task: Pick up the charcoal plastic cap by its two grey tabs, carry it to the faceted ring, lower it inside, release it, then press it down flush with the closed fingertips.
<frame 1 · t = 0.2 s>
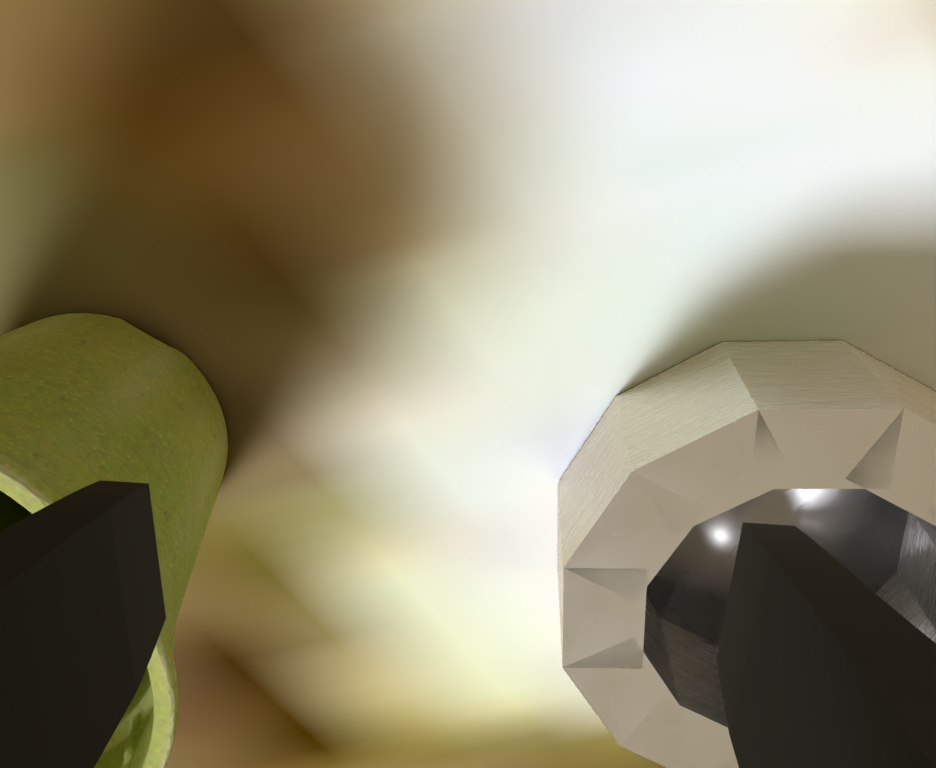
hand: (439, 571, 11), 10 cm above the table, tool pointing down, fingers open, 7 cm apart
plant pot: (115, 421, 22), on the table
faceted ring: (759, 528, 22), on the table
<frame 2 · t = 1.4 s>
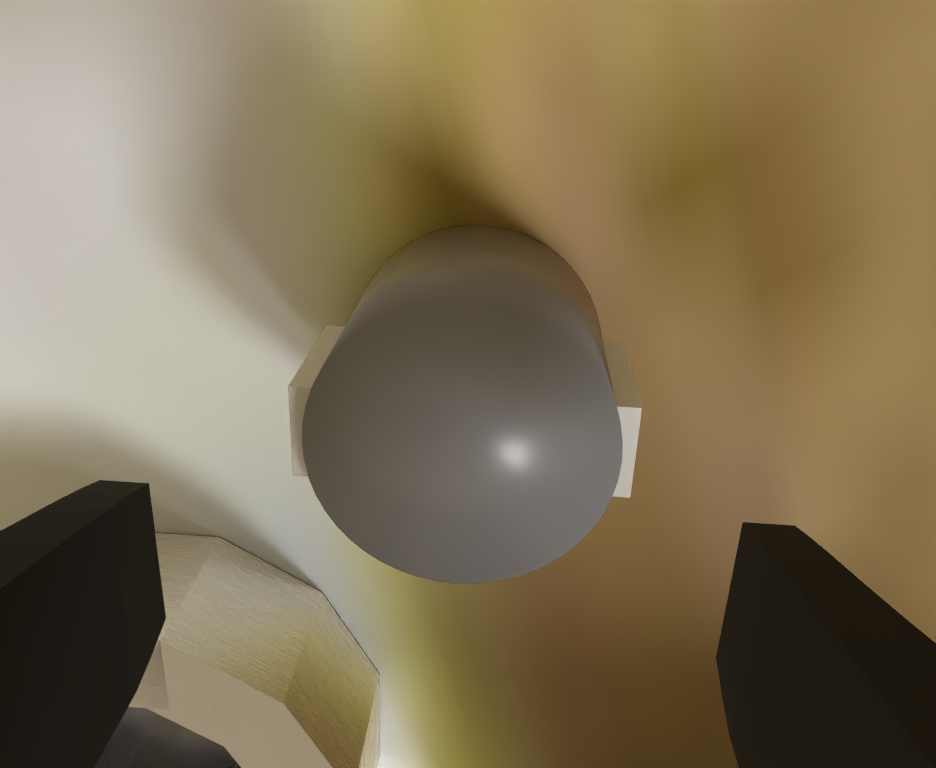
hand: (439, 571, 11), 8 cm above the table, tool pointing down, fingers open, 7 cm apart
cap: (476, 346, 18), on the table
faceted ring: (182, 700, 22), on the table
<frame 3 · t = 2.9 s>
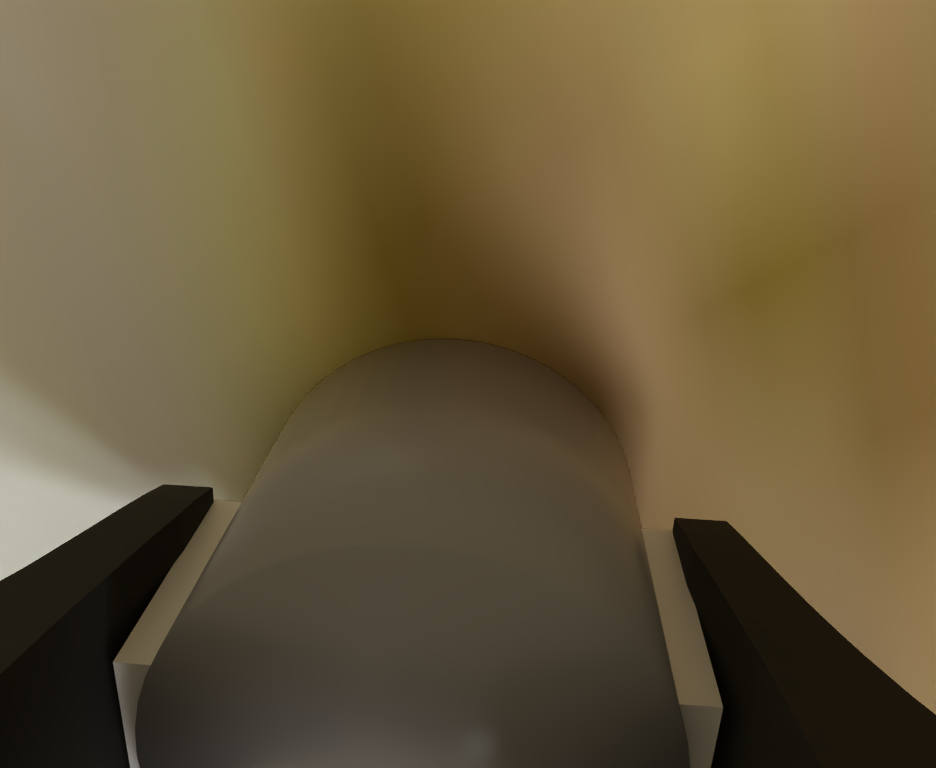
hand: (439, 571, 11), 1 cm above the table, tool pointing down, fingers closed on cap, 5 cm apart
cap: (449, 509, 12), on the table, touching gripper
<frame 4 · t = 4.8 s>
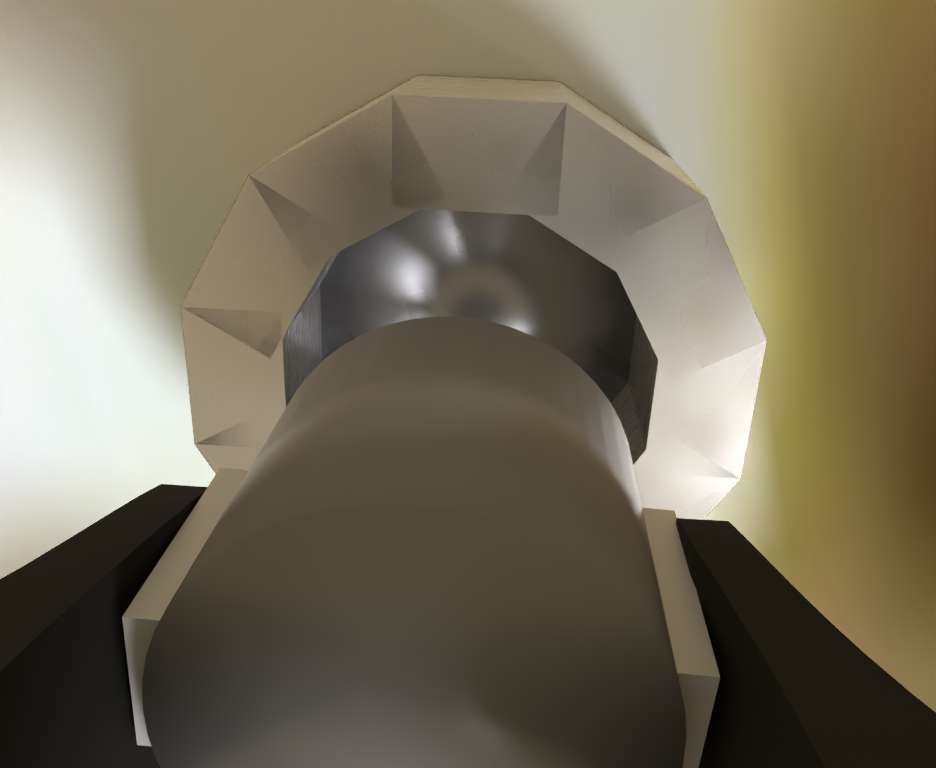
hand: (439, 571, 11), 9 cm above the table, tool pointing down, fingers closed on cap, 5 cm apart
cap: (451, 486, 12), point 7 cm above the table, touching gripper
faceted ring: (477, 326, 19), on the table
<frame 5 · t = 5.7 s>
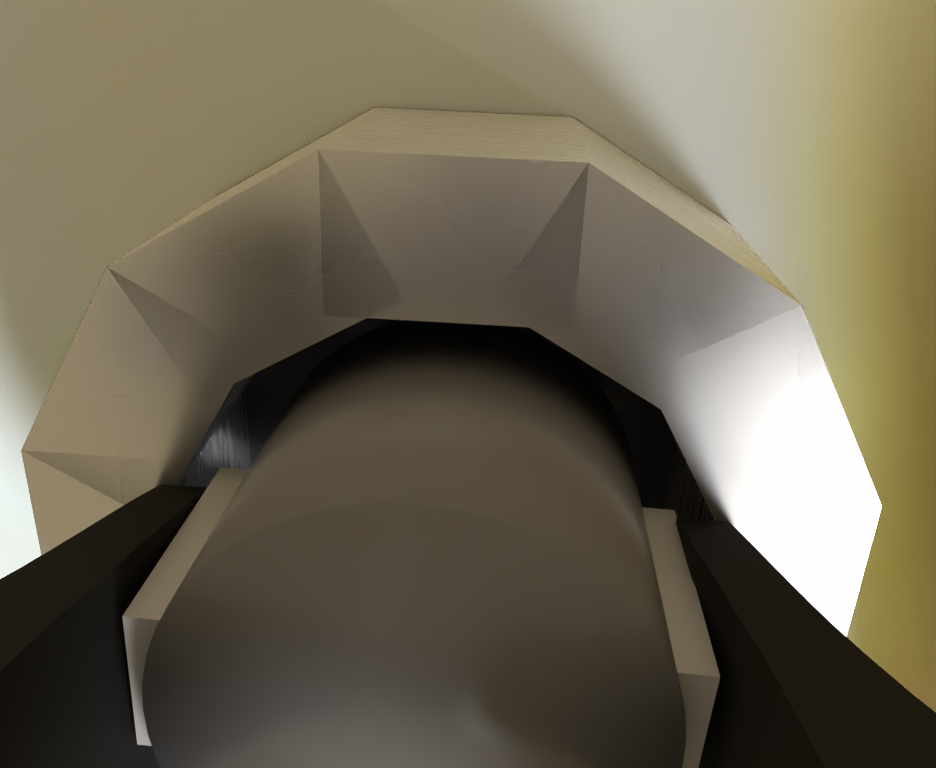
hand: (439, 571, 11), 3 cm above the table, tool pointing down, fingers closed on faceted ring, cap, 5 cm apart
cap: (451, 486, 12), point 2 cm above the table, touching gripper
faceted ring: (460, 439, 14), on the table
when the fingers open (3 cm above the table, at t = 6.8 s): cap drops 1 cm, resting on faceted ring.
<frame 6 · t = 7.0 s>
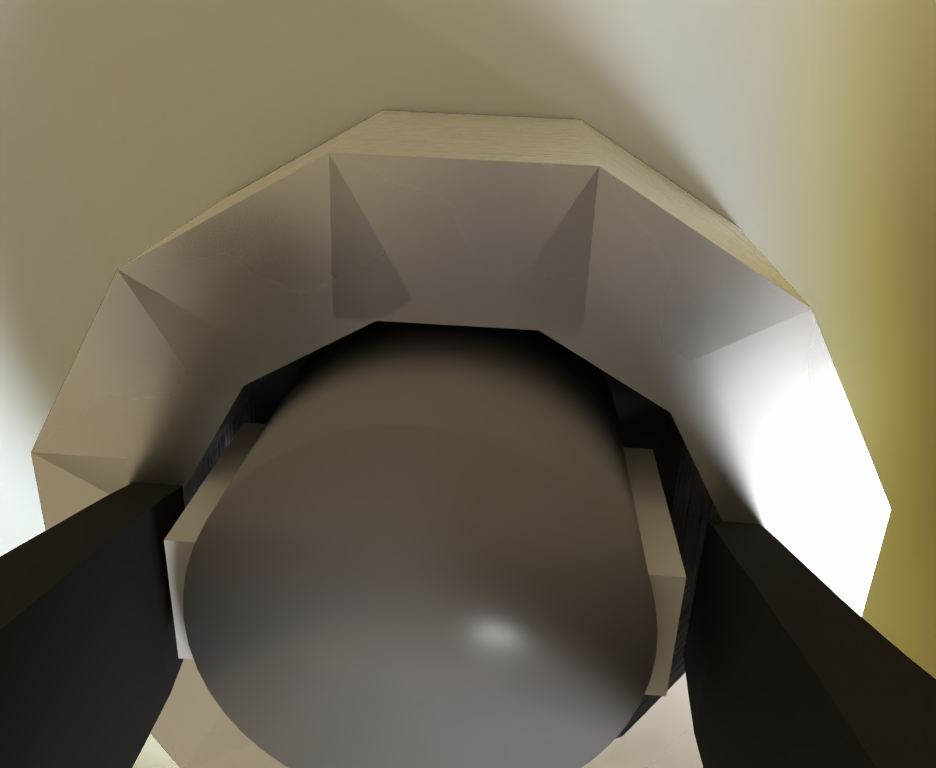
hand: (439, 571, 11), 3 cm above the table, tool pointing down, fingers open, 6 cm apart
cap: (452, 440, 13), point 1 cm above the table, touching faceted ring
faceted ring: (467, 442, 14), on the table
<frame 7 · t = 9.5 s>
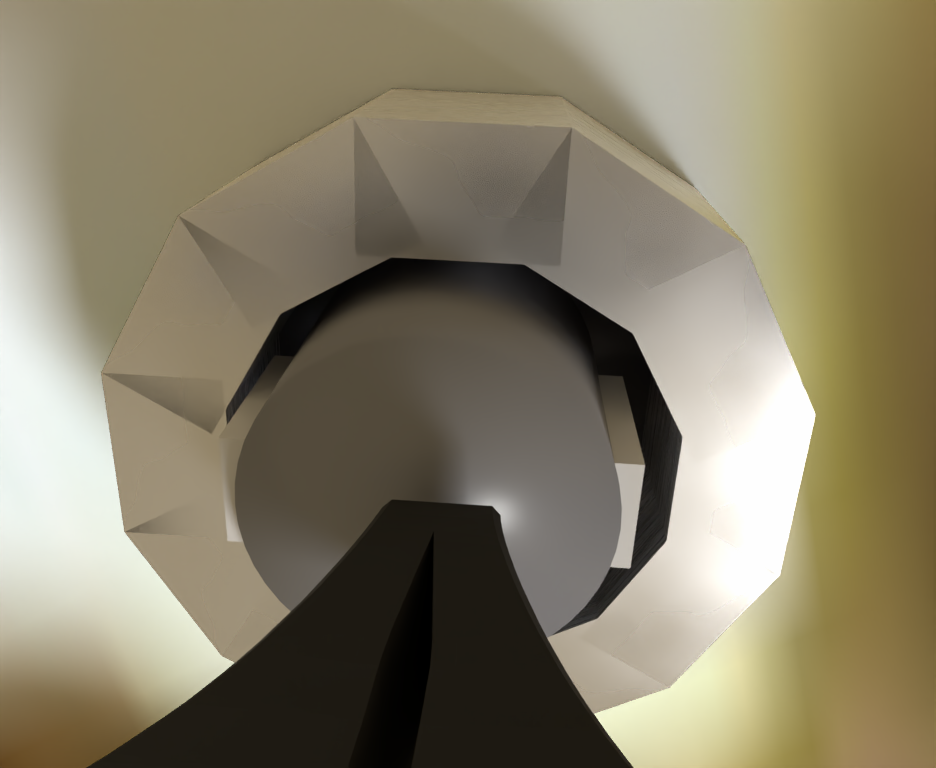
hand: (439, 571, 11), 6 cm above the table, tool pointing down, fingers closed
cap: (452, 376, 15), point 1 cm above the table, touching faceted ring
faceted ring: (464, 379, 16), on the table
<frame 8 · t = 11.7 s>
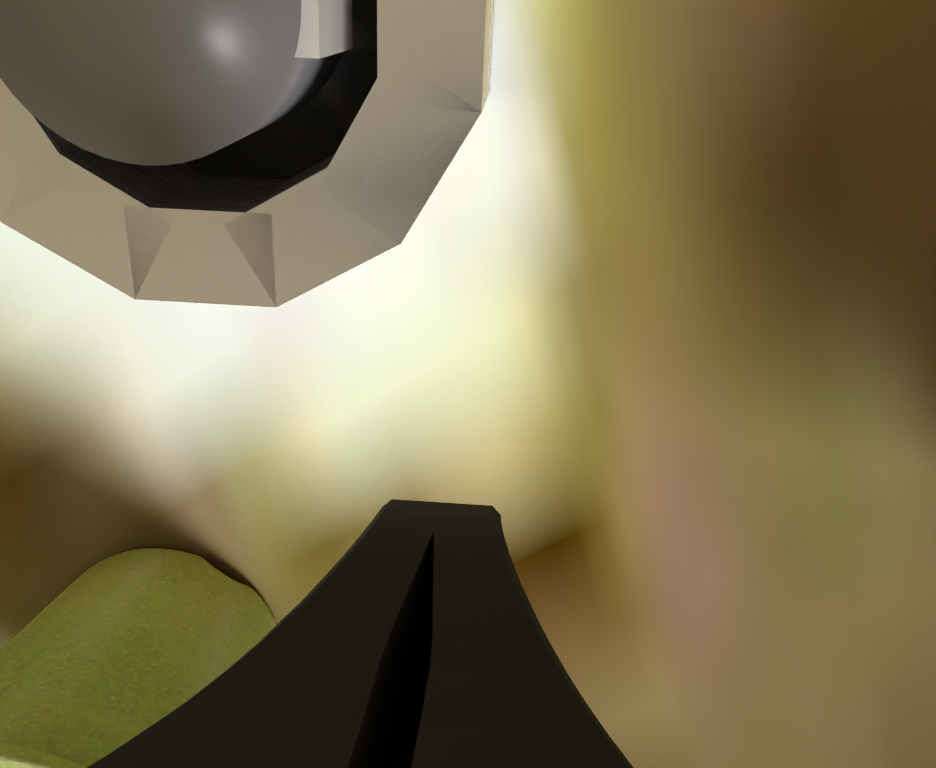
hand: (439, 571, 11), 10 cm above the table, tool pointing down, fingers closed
plant pot: (177, 628, 24), on the table
faceted ring: (242, 9, 17), on the table
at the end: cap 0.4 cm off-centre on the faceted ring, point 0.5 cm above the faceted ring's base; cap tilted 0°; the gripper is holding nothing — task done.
